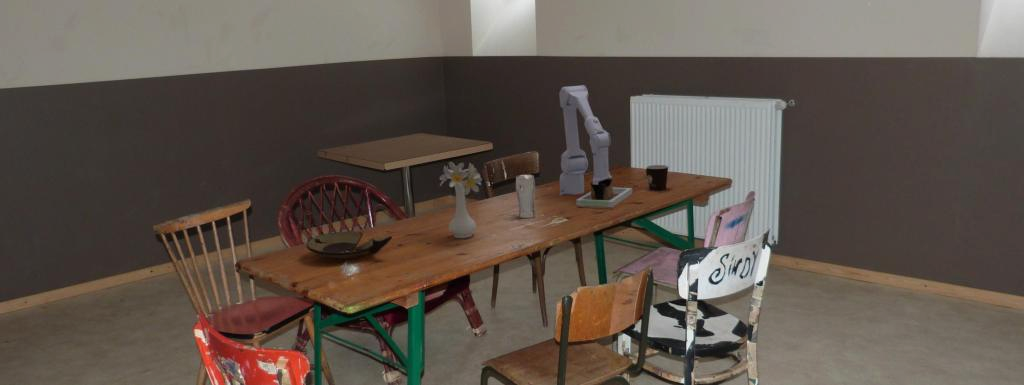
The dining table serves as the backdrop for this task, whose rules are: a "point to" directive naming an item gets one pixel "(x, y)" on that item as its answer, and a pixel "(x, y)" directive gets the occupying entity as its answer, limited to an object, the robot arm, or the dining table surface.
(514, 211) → the dining table surface
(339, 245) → the oil lamp
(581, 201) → the bay
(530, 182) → the beer glass
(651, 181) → the coffee mug
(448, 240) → the dining table surface
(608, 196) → the cardboard box
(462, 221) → the flower vase
